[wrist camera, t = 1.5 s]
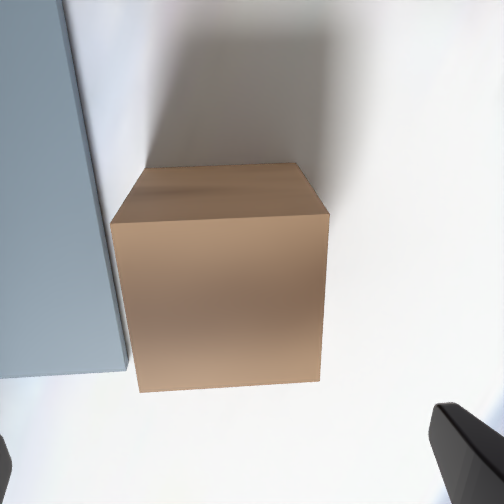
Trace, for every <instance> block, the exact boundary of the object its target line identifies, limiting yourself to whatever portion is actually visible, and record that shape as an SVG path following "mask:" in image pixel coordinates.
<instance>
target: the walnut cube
mask: <svg viewBox="0 0 504 504" xmlns="http://www.w3.org/2000/svg"><path fill="white" fill-rule="evenodd" d="M329 217H330V214H329V212H328V211H327V209H326V208H325V206H324V205H323V203H322V202H321V200H320V199H319V197H318V196H317V194H316V193H315V191H314V189H313V188H312V186H311V185H310V183H309V182H308V180H307V179H306V177H305V176H304V174H303V173H302V171H301V170H300V168H299V167H298V165H297V164H296V163H272V164H246V165H219V166H193V167H166V168H145V169H144V171H143V172H142V174H141V175H140V177H139V178H138V180H137V182H136V183H135V185H134V186H133V188H132V189H131V191H130V193H129V194H128V196H127V197H126V199H125V200H124V202H123V204H122V205H121V207H120V208H119V210H118V212H117V213H116V215H115V216H114V218H113V219H112V221H111V223H110V228H111V233H112V239H113V245H114V250H115V256H116V262H117V267H118V273H119V278H120V284H121V290H122V295H123V301H124V307H125V312H126V318H127V324H128V329H129V335H130V341H131V346H132V352H133V357H134V363H135V369H136V374H137V380H138V386H139V391H140V393H145V392H160V391H176V390H192V389H208V388H223V387H239V386H255V385H271V384H286V383H302V382H318V381H320V367H321V350H322V333H323V317H324V300H325V283H326V267H327V250H328V233H329Z"/></svg>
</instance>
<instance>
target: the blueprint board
mask: <svg viewBox="0 0 504 504" xmlns="http://www.w3.org/2000/svg"><path fill="white" fill-rule="evenodd" d="M128 363H129V362H128V357H127V352H126V346H125V341H124V335H123V330H122V325H121V319H120V314H119V308H118V303H117V297H116V292H115V287H114V281H113V276H112V270H111V265H110V260H109V254H108V249H107V243H106V238H105V233H104V227H103V222H102V216H101V211H100V205H99V200H98V195H97V189H96V184H95V178H94V173H93V168H92V162H91V157H90V151H89V146H88V141H87V135H86V130H85V124H84V119H83V113H82V108H81V103H80V97H79V92H78V86H77V81H76V76H75V70H74V65H73V59H72V54H71V49H70V43H69V38H68V32H67V27H66V21H65V16H64V11H63V5H62V0H0V379H3V378H19V377H36V376H52V375H69V374H85V373H102V372H118V371H126V370H127V366H128Z"/></svg>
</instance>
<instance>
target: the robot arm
mask: <svg viewBox="0 0 504 504" xmlns="http://www.w3.org/2000/svg"><path fill="white" fill-rule="evenodd" d="M429 441H430V444H431V447H432V450H433V452H434V455H435V458H436V461H437V464H438V467H439V469H440V472H441V475H442V478H443V481H444V483H445V486H446V489H447V492H448V495H449V498H450V500H451V503H452V504H504V437H503V436H502V435H500V434H499V433H498V432H496V431H495V430H493V429H492V428H491V427H489V426H488V425H486V424H485V423H484V422H482V421H481V420H479V419H478V418H477V417H475V416H474V415H472V414H471V413H470V412H468V411H467V410H465V409H464V408H463V407H461V406H460V405H458V404H456V403H453V402H449V403H438V404H436V405H435V406H434V408H433V412H432V417H431V422H430V426H429ZM11 471H12V460H11V457H10V455H9V452H8V449H7V447H6V444H5V441H4V439H3V437H2V436H1V435H0V504H2V502H3V499H4V495H5V492H6V489H7V485H8V482H9V479H10V475H11Z"/></svg>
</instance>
